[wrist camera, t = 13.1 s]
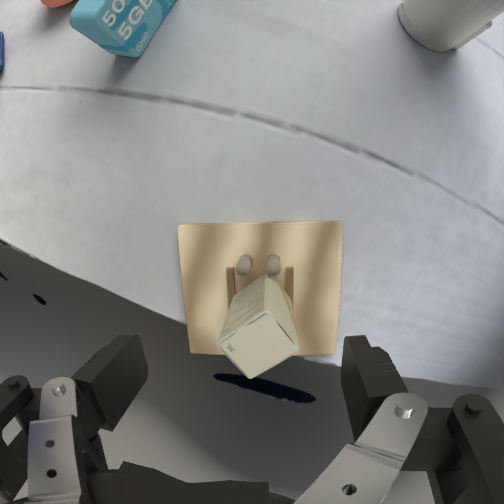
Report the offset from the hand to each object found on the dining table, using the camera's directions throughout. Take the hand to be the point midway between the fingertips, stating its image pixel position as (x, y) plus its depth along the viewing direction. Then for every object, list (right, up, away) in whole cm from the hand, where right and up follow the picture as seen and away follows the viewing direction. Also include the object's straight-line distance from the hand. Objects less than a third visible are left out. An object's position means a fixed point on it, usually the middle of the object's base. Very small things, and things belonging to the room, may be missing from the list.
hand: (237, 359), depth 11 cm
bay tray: (+2, -1, +24) cm, 24 cm away
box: (+2, -1, +22) cm, 22 cm away
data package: (-13, +35, +18) cm, 41 cm away
